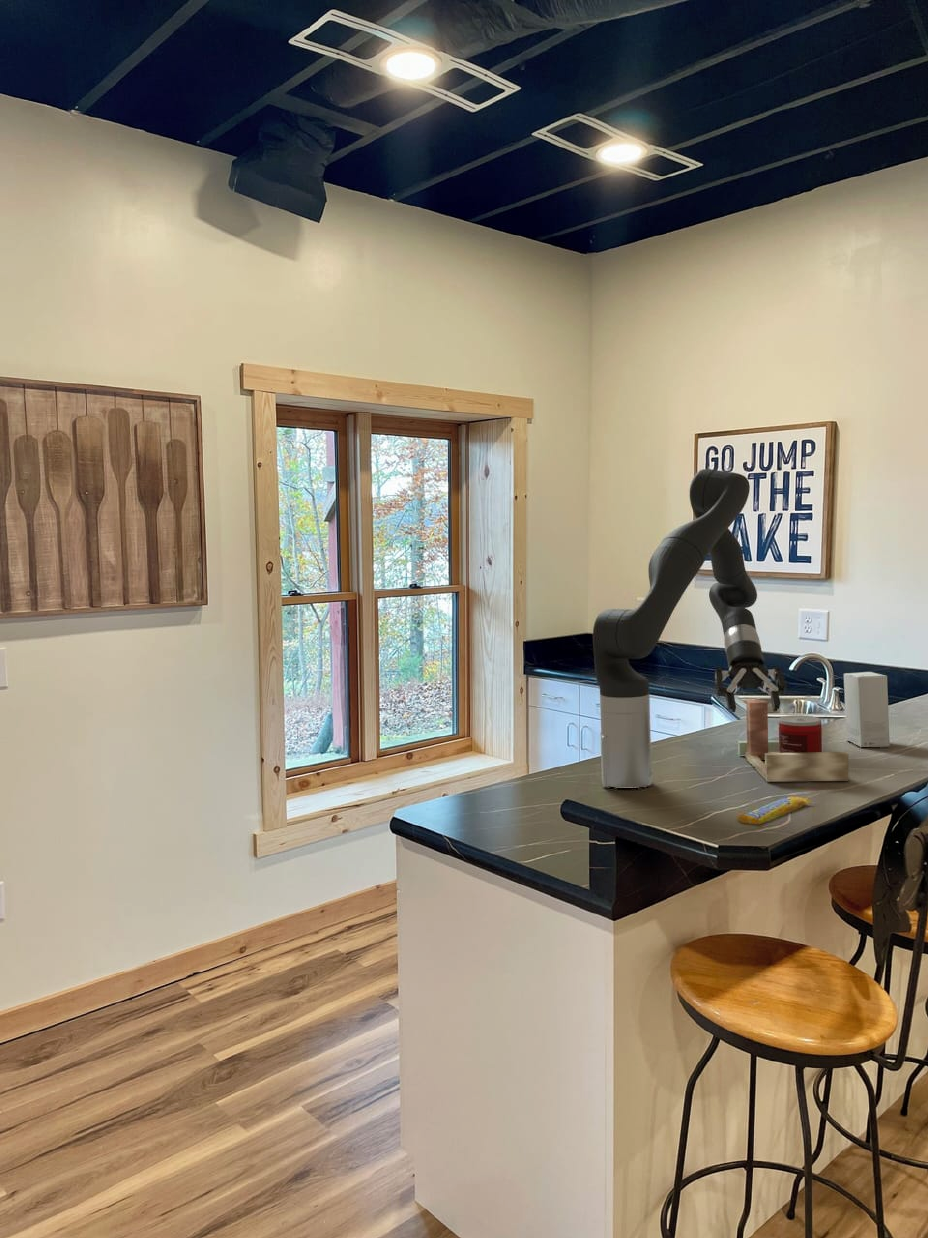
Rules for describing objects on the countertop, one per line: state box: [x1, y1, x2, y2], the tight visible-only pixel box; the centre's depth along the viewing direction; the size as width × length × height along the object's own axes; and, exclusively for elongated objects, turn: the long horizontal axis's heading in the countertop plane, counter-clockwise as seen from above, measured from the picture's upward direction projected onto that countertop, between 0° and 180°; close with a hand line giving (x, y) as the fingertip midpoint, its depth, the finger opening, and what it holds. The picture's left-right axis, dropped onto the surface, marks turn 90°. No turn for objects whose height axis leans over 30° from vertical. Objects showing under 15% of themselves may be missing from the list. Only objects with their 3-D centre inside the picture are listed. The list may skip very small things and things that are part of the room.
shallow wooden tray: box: [745, 699, 850, 783], centre depth 176 cm, size 15×21×12 cm
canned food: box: [778, 714, 823, 753], centre depth 171 cm, size 8×8×11 cm
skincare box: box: [843, 671, 891, 748], centre depth 195 cm, size 8×7×16 cm
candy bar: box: [736, 795, 811, 826], centre depth 148 cm, size 17×4×2 cm, turn 131°
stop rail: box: [737, 739, 779, 756], centre depth 189 cm, size 16×2×3 cm, turn 84°
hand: (754, 709), depth 188 cm, fingers open, 8 cm apart
